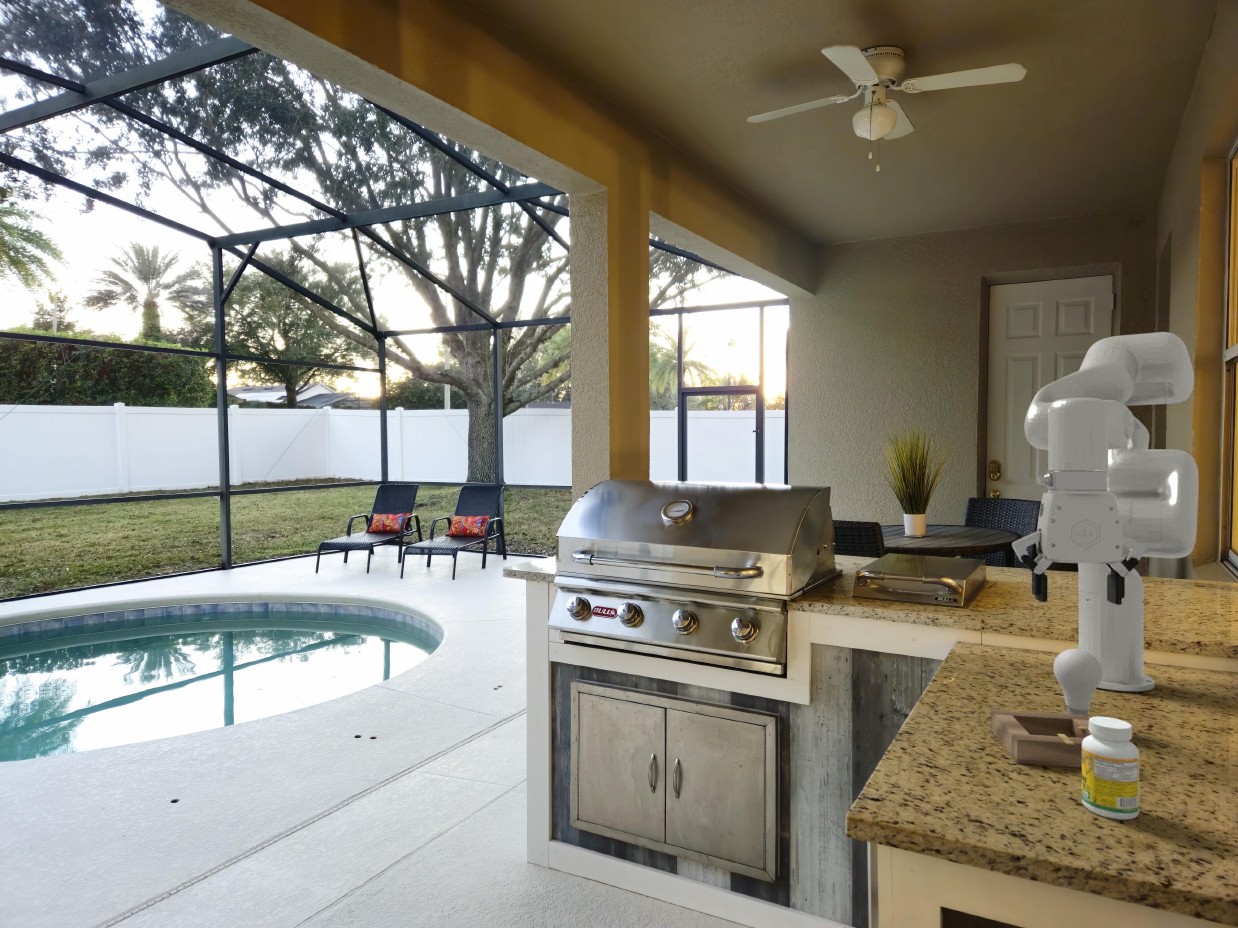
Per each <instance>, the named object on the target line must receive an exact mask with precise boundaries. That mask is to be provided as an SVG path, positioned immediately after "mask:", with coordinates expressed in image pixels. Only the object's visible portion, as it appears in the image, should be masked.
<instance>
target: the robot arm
mask: <svg viewBox="0 0 1238 928" xmlns="http://www.w3.org/2000/svg"><path fill="white" fill-rule="evenodd" d="M1079 367H1080V368H1079V369H1078V370H1077V371H1075V372H1072V373H1070V374H1068V375H1066V376H1063V377H1061V378H1059V379H1057V380H1055V381H1053V382H1050V383H1048V384H1047V385H1045V386H1043V387H1041V389H1040V390H1038V391H1037V393H1035V395H1034V397H1033V398H1032V401H1031V403H1030V405H1029V407H1028V409H1027V412H1026V415H1025V418H1024V426H1023V427H1024V428H1023V429H1024V435H1025V438H1026V440H1027V442H1028V443H1029V445H1031V446H1032V447H1033V448H1035V449H1038V450H1041V451H1042V450H1044V451H1047V455H1048V457H1047V461H1048V466H1047V468H1048V469H1047V471H1046V473H1045V474H1043V475H1038V476H1037V484H1038V485H1040V486H1041V485H1043V486H1045V487H1046V489H1047V492H1042V497H1041V502H1040V506H1039V507H1040V508H1039V512H1038V518H1037V519H1038V521H1037V528H1036V531H1034V532H1032V533H1030V534H1027V535H1026V536H1023V537H1021V538H1018V539H1016V540H1015V541H1013V542H1012V543H1011V546H1012V549H1013V550H1014V553H1015V554H1016V556H1017V557H1018V561H1019V562H1020V563H1022V564H1023V565H1024V567H1026V568H1027V569H1028V571H1029V572H1031V594H1032V595H1033V596H1034V598H1035V600H1037V601H1038V602H1041V603H1046V602H1047V601H1048V580H1049V579H1048V577H1049V576H1048V575H1046V573H1045V571H1046V570H1047V569H1048V568H1049V567H1050V566H1051V565H1052V563H1064V564H1065V563H1067V564H1077V567H1078V649H1081V650H1085V651H1087V652H1089V653H1091V654H1092V655H1093V656H1095V658H1096V659H1097V660H1098V661H1099V663H1100V665H1101V667H1102V679H1101V681H1100V683H1099V685H1098V686H1097V688H1098V689H1103V690H1109V691H1118V692H1120V691H1121V692H1132V693H1133V692H1135V693H1136V692H1137V693H1138V692H1146V691H1150V690H1153V689H1154V688H1155V686H1156V685H1155V682H1156V681H1155V680H1154V678H1153V677H1151V676H1150V675H1147V674H1144V657H1145V656H1144V647H1145V646H1144V641H1145V640H1144V639H1145V638H1144V637H1145V636H1144V629H1145V628H1144V627H1145V626H1144V622H1145V619H1144V616H1145V615H1144V612H1145V611H1144V608H1145V607H1144V606H1145V605H1144V602H1145V601H1144V595H1145V594H1144V593H1145V592H1144V590H1145V588H1144V582H1143V580H1142V577H1141V576H1140V574H1139V572H1138V571H1137V570H1136V567H1138V565H1139V562H1140V560H1142V557H1143V558H1144V557H1145V558H1156V559H1158V558H1160V559H1181V558H1182V559H1183V558H1185V557H1187V556H1189V555H1190V554H1191V553H1192V552H1193V550H1194V548H1195V545H1196V541H1197V540H1196V539H1197V528H1198V525H1197V524H1198V509H1199V508H1198V507H1199V505H1198V504H1199V470H1198V465H1197V463H1196V461H1195V458H1194V457H1193V456H1192V455H1191V454H1190V453H1188V452H1187V451H1184V450H1180V449H1171V448H1170V449H1169V448H1167V449H1162V448H1161V449H1156V448H1155V449H1153V448H1151V449H1149V443H1150V433H1149V431H1148V428H1147V427H1146V425H1144V424H1143V423H1142V422H1141V421H1140V420H1139V419H1138V418H1137V417H1136V416H1135V415H1133V412H1132V411H1131V410H1130V409H1129V408H1128V406H1147V405H1149V406H1150V405H1168V404H1169V405H1170V404H1179V403H1182V402H1184V401H1187V399H1189V397H1190V396H1191V394H1192V393H1193V390H1194V385H1195V374H1194V368H1193V365H1192V362H1191V358H1190V354H1189V351H1188V349H1187V346H1186V344H1185V342H1184V341H1183V340H1182V339H1181V338H1180V336H1178V335H1176V334H1175V333H1172V332H1167V331H1160V332H1159V331H1158V332H1149V333H1148V332H1147V333H1146V332H1145V333H1137V334H1136V333H1135V334H1125V335H1115V336H1114V335H1113V336H1110V337H1106V338H1105V337H1104V338H1102V339H1100V340H1097V341H1096V342H1094V343H1092V345H1091V346H1090V347H1089V348H1088V350H1087V351H1086V354H1085V356H1084V358H1083V360H1082V363H1081V365H1080V366H1079ZM1034 544H1036V545H1035V546H1036V553H1037V557H1036V558H1034V559H1033V558H1032V557H1031V556H1030V555H1029V553H1028V551H1027V548H1028V547H1030V546H1032V545H1034ZM1097 688H1096V689H1097Z"/></svg>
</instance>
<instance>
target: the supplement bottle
mask: <svg viewBox="0 0 1238 928" xmlns="http://www.w3.org/2000/svg"><path fill="white" fill-rule="evenodd" d="M1088 719H1089V728H1088V729H1089V732H1090V733H1091V734H1092V735H1090V736H1087V737H1086V738H1084V739H1083V741H1082V768H1081V803H1082V805H1083V806H1084V807H1085V808H1086V809H1087V810H1089V811H1090V812H1091V813H1094V814H1096V815H1099V816H1102V817H1104V818H1108V819H1109V818H1110V819H1113V820H1114V819H1115V820H1125V821H1126V820H1127V821H1128V820H1132V819H1135V818H1137V817H1138V816H1139V814H1140V751H1139V749H1138V747H1137V746H1136V744H1134V743H1133V742H1131V741H1130V740H1132V738H1133V726H1132V724H1131V723H1129V722H1128V721H1124V720H1122V719H1119V718H1113V717H1110V716H1109V717H1108V716H1092V717H1090V718H1088Z"/></svg>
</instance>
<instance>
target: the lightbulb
mask: <svg viewBox="0 0 1238 928" xmlns="http://www.w3.org/2000/svg"><path fill="white" fill-rule="evenodd" d="M1053 673H1054V677H1055V678H1056V680H1057V682H1058V684H1059V686H1060V687H1061V690H1062V693H1063V696H1064V704H1065V706H1066V712H1067V713H1066V714H1075V715H1084V716H1085V717H1087V718H1088V719H1089V709H1090V708H1091V703H1092V702H1091V701H1092V698H1093V695H1094V692H1095V691H1096V689H1097V686H1098V685H1099V683H1100V681H1101V679H1102V667H1101V665H1100V663H1099V661H1098V660H1097V659H1096V658H1095V656H1093V655H1092V654H1091V653H1089V652H1087V651H1085V650H1081V649H1079V648H1069V649H1066V650H1064V651H1062V652H1060V653H1059V654H1058V655H1057V656H1056V657H1055V660H1054V661H1053Z"/></svg>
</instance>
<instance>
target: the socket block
mask: <svg viewBox="0 0 1238 928" xmlns="http://www.w3.org/2000/svg"><path fill="white" fill-rule="evenodd" d="M1089 719H1090V718H1089V717H1088V718H1087V717H1085V716H1084V715H1075V714H1067V713H1056V712H1054V713H1053V712H1041V711H1038V712H1037V711H1020V710H1004V709H990V732H991V731H992V732H993V733H992V732H991V733H992V734H993V735H994V737H995V736H996V737H997V738H996V737H995V738H996V739H997V740H998V742H999V741H1000V742H1001V743H1002V744H1001V743H1000V742H999V743H1000V744H1001V745H1002V747H1003V746H1004V747H1005V748H1006V749H1007V750H1006V749H1005V748H1004V747H1003V748H1004V749H1005V750H1006V751H1007V753H1008V752H1009V753H1008V754H1009V755H1010V756H1011V758H1012V759H1013V760H1014V762H1016V764H1023V765H1024V764H1025V765H1027V764H1028V765H1038V766H1040V765H1041V766H1053V767H1054V766H1055V767H1069V768H1079V769H1080V768H1081V769H1082V741H1083V739H1084V738H1086V737H1087V736H1090V735H1092V734H1091V733H1090V732H1089V729H1088V728H1089Z"/></svg>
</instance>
